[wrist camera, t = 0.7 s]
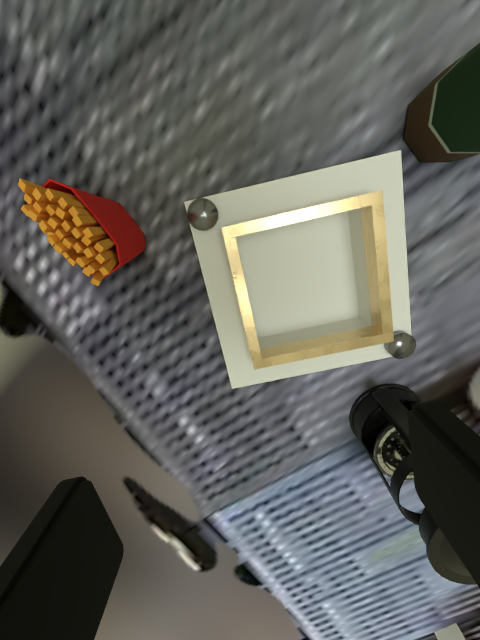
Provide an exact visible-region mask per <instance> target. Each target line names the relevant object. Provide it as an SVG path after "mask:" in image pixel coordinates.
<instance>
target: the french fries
mask: <svg viewBox="0 0 480 640" xmlns="http://www.w3.org/2000/svg"><path fill="white" fill-rule="evenodd" d="M18 186H19V187H20V188H21V189H22V191H23V192H25V197H24V200H25V201H26V202H27V203H28V204H27V205H23V206H22V208H21V210H22V211H23V212H24V213H25V214H26V216H27V217H28V216H29V217H30V218H31V219H33V220H34V221H35V222H40V223H39V226H40V228H41V230H42V231H43V232H44V233H45V234H47V235H48V236H49V237H48V238H47V240H48V241H49V243H50V244H51V245H52V246H54V249H55V250H56V251H57V252H58V253H59V254H63V256H64V257H65V258H66V259H68V258H69V259H68V260H67V261H68V262H69V263H70V264H71V265H72V266H75V265H77V264H79V265H80V266H81V267H83V271H82V272H83V273H84V274H86V275H87V276H90V275H92V274H94V277H93V278H92V280H91V283H92V284H95V285H97V286H99V284H100V282H101V281H102V279H103V278H105V277H107V276H108V275H110V274H111V273H113V272H114V271H116V270H117V269H119V268H120V267H122V266H123V265H125V264H126V263H128V262H129V261H131V260H132V259H133V258H135V257H136V256H137V255H139V254H140V253H141V252H142V251H144V250H145V235H144V234H143V232H142V231H141V230H140V228H139V227H138V225H137V224H136V223H135V221H134V220H133V219H132V218H131V216H130V215H129V214H128V213H127V211H126V210H125V209H124V208H123V207H122V206H121V204H120V203H117V202H114V201H111V200H108V199H105V198H102V197H99V196H96V195H92V194H90V193H87V192H84V191H81V190H79V189H76V188H73V187H71V186H68V185H65V184H62V183H60V182H57V181H54V180H51V179H49V180H48V181H47V182H46V183H45V184H44V185H42V186H39V185H37V184H34V183H31V182H29V181H26V180H23V179H21V178H20V180H19V183H18Z"/></svg>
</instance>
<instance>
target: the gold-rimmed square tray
mask: <svg viewBox="0 0 480 640" xmlns="http://www.w3.org/2000/svg"><path fill="white" fill-rule="evenodd" d="M184 204H185V208H186V212H187V218H188V221H189V223H190V227H191V231H192V235H193V239H194V243H195V247H196V251H197V254H198V258H199V262H200V266H201V270H202V274H203V278H204V282H205V285H206V289H207V293H208V297H209V301H210V305H211V309H212V313H213V316H214V320H215V324H216V328H217V332H218V336H219V340H220V344H221V347H222V351H223V355H224V359H225V363H226V367H227V371H228V375H229V378H230V382H231V386H232V389H233V388H238V387H243V386H248V385H253V384H258V383H263V382H268V381H273V380H278V379H283V378H288V377H293V376H298V375H303V374H308V373H313V372H318V371H323V370H328V369H333V368H338V367H343V366H348V365H353V364H358V363H363V362H368V361H373V360H378V359H383V358H388V357H395V358H398V359H403V358H406V357H408V356H410V355H411V354H412V353H413V352H414V350H415V347H416V341H415V339H414V337H413V336H411V321H410V303H409V285H408V267H407V250H406V232H405V214H404V197H403V179H402V161H401V150H399V151H395V152H391V153H387V154H382V155H378V156H374V157H370V158H366V159H362V160H357V161H353V162H349V163H345V164H341V165H336V166H332V167H328V168H324V169H320V170H316V171H311V172H307V173H303V174H299V175H295V176H291V177H286V178H282V179H278V180H274V181H270V182H265V183H261V184H257V185H253V186H249V187H245V188H240V189H236V190H232V191H228V192H224V193H219V194H215V195H211V196H207V197H203V198H198V199H194V200H190V201H186V202H184Z"/></svg>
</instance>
